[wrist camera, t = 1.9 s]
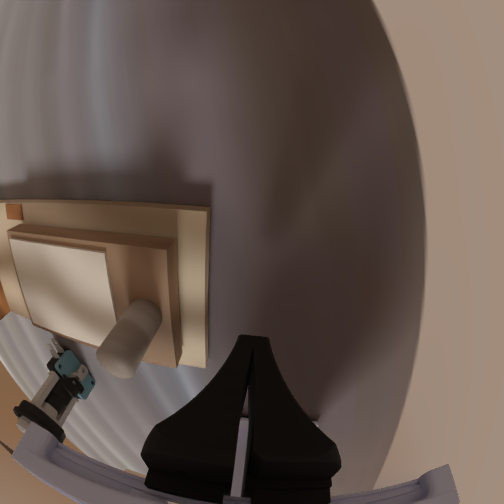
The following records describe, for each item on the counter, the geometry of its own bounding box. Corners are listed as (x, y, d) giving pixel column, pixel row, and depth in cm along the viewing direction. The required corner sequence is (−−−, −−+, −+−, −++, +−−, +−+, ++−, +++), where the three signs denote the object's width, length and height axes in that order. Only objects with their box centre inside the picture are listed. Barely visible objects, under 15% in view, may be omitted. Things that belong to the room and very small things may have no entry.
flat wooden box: (208, 358, 19) (200, 389, 16) (11, 303, 19) (-6, 318, 16) (210, 207, 14) (196, 223, 12) (-13, 200, 15) (-35, 209, 12)
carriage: (182, 352, 17) (158, 418, 12) (42, 315, 17) (5, 353, 12) (176, 238, 14) (128, 293, 9) (20, 223, 14) (-33, 252, 9)
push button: (43, 336, 20) (-10, 400, 11) (71, 333, 19) (11, 411, 10) (78, 383, 22) (39, 449, 13) (109, 385, 22) (69, 463, 12)
